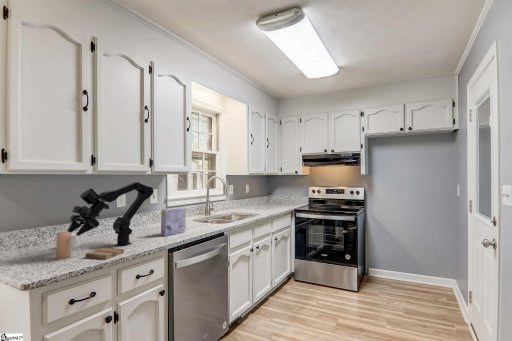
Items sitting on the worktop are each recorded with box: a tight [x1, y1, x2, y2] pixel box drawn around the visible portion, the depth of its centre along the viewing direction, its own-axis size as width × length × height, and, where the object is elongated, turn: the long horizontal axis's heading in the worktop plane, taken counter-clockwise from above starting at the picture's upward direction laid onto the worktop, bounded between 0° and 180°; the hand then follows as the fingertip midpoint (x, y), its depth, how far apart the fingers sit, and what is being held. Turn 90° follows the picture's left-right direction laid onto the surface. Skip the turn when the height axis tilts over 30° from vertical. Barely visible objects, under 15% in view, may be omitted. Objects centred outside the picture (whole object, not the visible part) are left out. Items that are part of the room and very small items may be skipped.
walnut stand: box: [85, 247, 125, 260], centre depth 144 cm, size 12×12×2 cm
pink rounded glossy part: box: [55, 231, 72, 260], centre depth 140 cm, size 6×6×12 cm
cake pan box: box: [160, 207, 187, 237], centre depth 199 cm, size 19×5×18 cm, turn 146°
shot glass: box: [71, 233, 80, 249], centre depth 161 cm, size 7×7×7 cm
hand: (72, 234), depth 144 cm, fingers open, 9 cm apart
